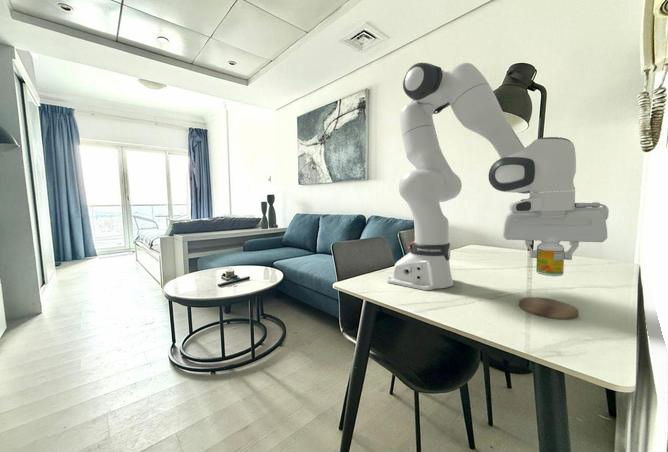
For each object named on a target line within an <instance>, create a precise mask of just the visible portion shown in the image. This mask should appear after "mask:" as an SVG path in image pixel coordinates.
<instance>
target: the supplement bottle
mask: <svg viewBox="0 0 668 452" xmlns="http://www.w3.org/2000/svg"><path fill="white" fill-rule="evenodd" d="M561 242H562V241H558V240H557V238H556V237H547V239H546V240H545V241H541V243H538V244H537V246H536V250H537V258H536V273H537V274H539V275H543V276H547V277H561V276H564V271H565V270H564V267H565V266H564V265H565V259H564V252H565V247H564V246H563V245H562V244H560V243H561Z"/></svg>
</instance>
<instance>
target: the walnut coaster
mask: <svg viewBox="0 0 668 452" xmlns="http://www.w3.org/2000/svg"><path fill="white" fill-rule="evenodd" d="M518 305H519V307H520V308H521V310H523V311H525V312H527V313H529V314H532V315H535V316H539V317H542V318H546V319H547V318H548V319H553V320H554V319H555V320H573V319H576V318H578V317H579V313H580V311H579V309H578V308H577V307H576V306H574V305H572V304H570V303H568V302H565V301H562V300H557V299H553V298H547V297H537V296H536V297H535V296H533V297H532V296H530V297H529V296H528V297H523V298H520V299H519V301H518Z"/></svg>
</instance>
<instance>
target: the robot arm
mask: <svg viewBox="0 0 668 452" xmlns="http://www.w3.org/2000/svg"><path fill="white" fill-rule="evenodd" d="M402 89H403V92H404V93H405V95H406V96H408V98H409V99H411V101H410V102H408V103H407V104H405V106H403V107H402V109H401V110H400V115H399V119H400V120H399V122H400V123H399V124H400V130H401V131H400V132H401V137H402V142H403V146H404V149H405V150H404V151H405V155H406V159H407V160H408V161H409V163H411V164H412V165H413V166H414V167H415V168H416V169H415V170H411V171H408V172H406V173H404V174H403V175H401V178H400V180H399V182H398V193H399V195H400V197H401V198H402V199H403V200H404V201H405V202H406V203H407V205H408V207H409V209H410V212H411V214H412V218H413V225H414V227H413V228H414V241H412V242H410V243H409V245H408V250H409V251H408V253H407V254H406V255H404V256H403V257H401V258H400V259H399V260H397V261H396V262H395V264H394V266H393V270H392V271H393V272H392V273H390V274H389V275H387V277H386V282H387V283H388V284H393V285H398V286H403V287H408V288H413V289H419V290H421V291H422V290H423V291H431V290H436V289H446V288H449V287H452V286H454V285H455V284H454V280H453V276H452V272H451V266H450V259H451V243H450V242H449V219H448V218H447V217H446V216H445V215H444V212H443V211H442V208H441V204H440V203H444V202H447V201H450V200H453V199H455V198H456V197H458V196H459V195H460V194H461V191H462V185H463V184H462V180H461V178H460V177H459V175H457V174H456V172H454V171H453V170H452V168H451V166H450V164H449V163H448V162H447V161H448V160H447V159H446V157H445V156H444V154H443V151H442V149H441V147H440V146H441V145H440V143H439V138H438V135H437V131H436V127H435V123H434V119H433V115H436V114H437V115H438V114H439V113H441V112H442V111H443V110H444V109H446V108H447V107H449V106H450V108H451V110H452V112H453V114H454V116H455V118H456V119H457V120H458V121H459V123H460V124H461V125H462V126H463V127H464V128H466V129H467V130H469V131H471V132H473V133H475V134H478V135H480V136H482V137H483V138H485V139H486V140H487V141H488V142H489V143H490V144H491V145H492V146H493V148H494V149H495V151H496V152H497V154H498V156H499V159H498V160H495V162H494V163H493V164H492V165H491V166H490V168H489V172H488V181H489V183H490V184H489V185H491V186H492V188H494V189H495V190H496V191H500V192H504V193H517V194H523V195H524V194H526V195H527V194H529V197H528V198H524V199H523V198H522V199H520V200H518V201H515V202H511V203H510V204H509V206H508V207H509V211H510V212H508V213H507V214H506V216H505V219H504V224H503V231H502V232H503V235H502V236H503V238H504V239H505V240H507V241H508V240H509V241H510V240H511V241H524V244H525V246H526V247H527V249H528V250H529V258H531V259H537V249H536V250H535V249H533V248H532V247H531V246H532V245H533V241H539V242H542V241H545V240H546V239H547V237H556V238H557V240H558V241H561V242H568V243H569V245H570V247H569V248H568V250H567V251H564V261H565V260H567V261H572V260H573V254H574V252H575V251H576V250H577V249H578V248H579V246H580V245H579V244H580V243H603V242H605V241H606V240H607V239H608V226H607V220H608V218H609V207H608V206H607V205H606V204H602V203H601V202H597V201H596V202H576V187H575V184H574V179H575V175H576V173H577V159H576V158H577V156H576V148H575V145H574V143H573V142H572V141H571V140H570V139H567V138H566V137H565V138H564V137H558V136H554V137H553V136H549V137H545V136H544V137H539V138H536V139H534V140H533V141H532V142H531V143H530V144H529V145H527V146H526V147H525V146H524V145H523V143H522V142H521V140H520V139H519V137H518V136H517V134H516V133H515V132H516V131H514V129H513V128H512V126H511V125H510V123H509V121H508V119H507V117H506V115H505V114H504V111H503V109H502V107H501V104H500V103H499V101H498V99H497V97H496V95H495V93H494V91H493V88H492V87H491V85H490V84H489V82H488V80H487V79H486V76H484V75H483V73H482V72H481V71H480V70H479V69H478V68H477V67H476V66H475V65H474V64H473V63H470V62H462V63H459V64H457V65H455V66H453V67H452V69H450V70H448V71H445V70H443V69H442V68H441V67H440V66H438V65H435V64H431V63H428V62H417V63H415V64H413V65H411V67H409V68H408V70H407V71H406V73H405V74H404V77H403V79H402Z"/></svg>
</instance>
